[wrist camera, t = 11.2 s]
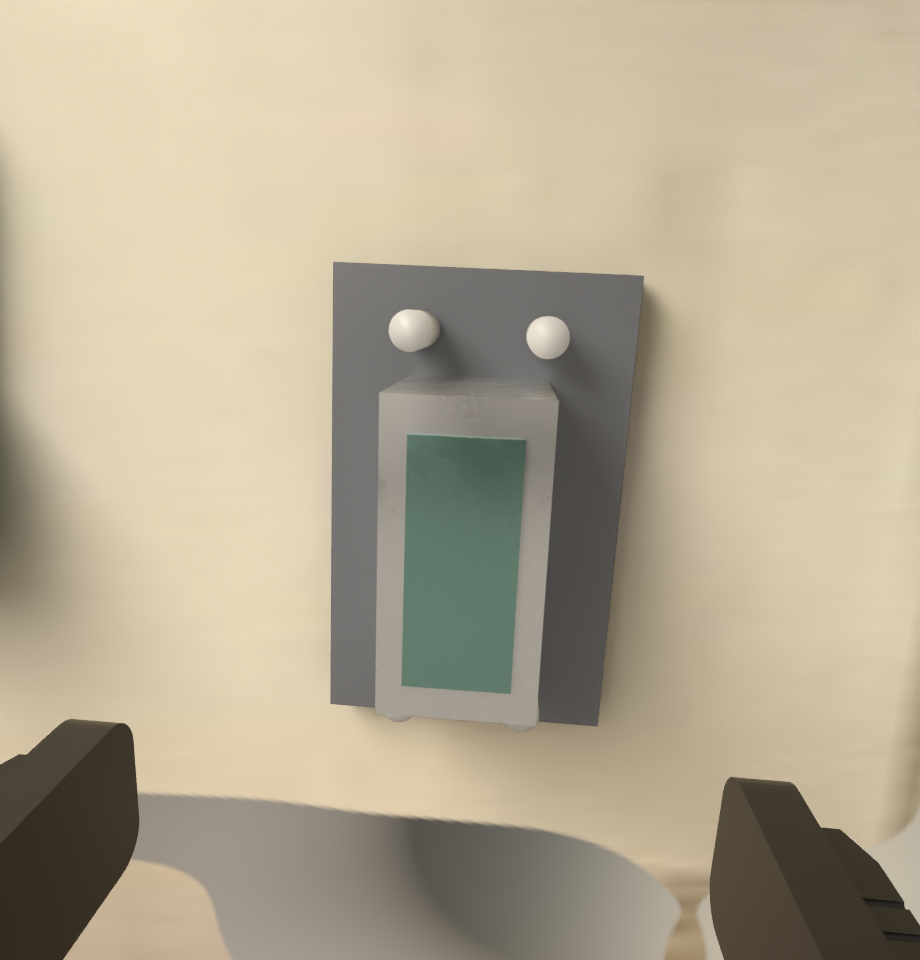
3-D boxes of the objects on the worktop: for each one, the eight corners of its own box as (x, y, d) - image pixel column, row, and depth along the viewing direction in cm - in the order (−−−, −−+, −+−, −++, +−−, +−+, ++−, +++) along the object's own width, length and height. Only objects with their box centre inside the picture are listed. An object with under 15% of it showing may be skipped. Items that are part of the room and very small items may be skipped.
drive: (412, 374, 23) (378, 393, 18) (547, 380, 23) (559, 401, 17) (406, 623, 26) (373, 716, 20) (530, 631, 25) (535, 729, 19)
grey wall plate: (344, 265, 24) (306, 253, 20) (635, 278, 24) (663, 269, 19) (340, 683, 28) (307, 751, 24) (593, 704, 27) (608, 778, 23)
